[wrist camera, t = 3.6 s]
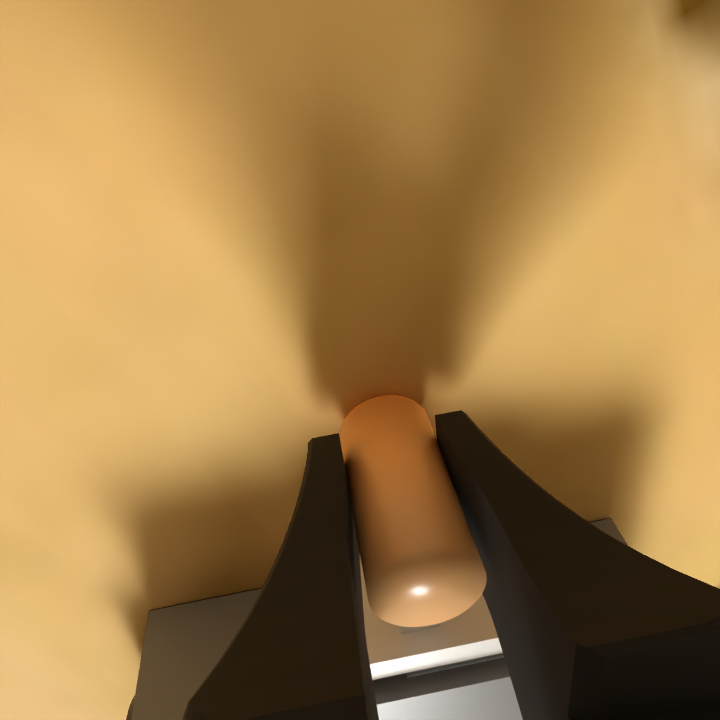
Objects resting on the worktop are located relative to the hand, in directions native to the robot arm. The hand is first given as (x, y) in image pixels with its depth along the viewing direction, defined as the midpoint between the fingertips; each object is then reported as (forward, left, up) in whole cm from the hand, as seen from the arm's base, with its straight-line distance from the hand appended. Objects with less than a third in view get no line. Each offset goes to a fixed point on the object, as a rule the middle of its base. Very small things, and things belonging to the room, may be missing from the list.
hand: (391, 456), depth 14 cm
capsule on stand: (0, +2, -1) cm, 2 cm away
